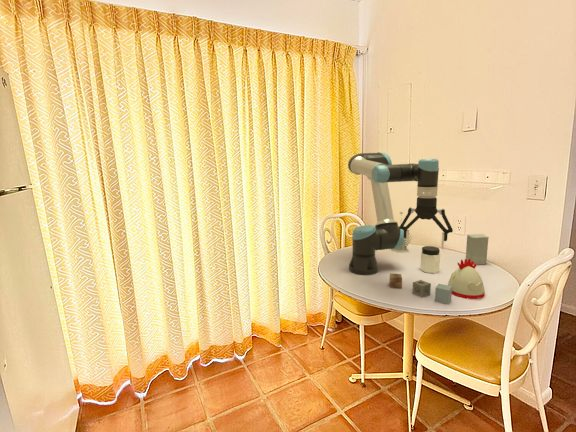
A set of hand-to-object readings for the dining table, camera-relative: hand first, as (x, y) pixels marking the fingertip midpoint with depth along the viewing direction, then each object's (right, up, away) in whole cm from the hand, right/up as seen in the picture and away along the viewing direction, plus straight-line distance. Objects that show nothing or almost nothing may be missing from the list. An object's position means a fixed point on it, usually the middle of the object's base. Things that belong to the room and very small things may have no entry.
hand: (424, 246), depth 127 cm
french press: (+14, -9, +64) cm, 66 cm away
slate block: (+6, -22, -4) cm, 23 cm away
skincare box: (+45, -13, +37) cm, 60 cm away
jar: (+16, -15, +29) cm, 37 cm away
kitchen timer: (+19, -20, +3) cm, 28 cm away
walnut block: (-8, -19, +12) cm, 24 cm away
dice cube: (0, -21, +3) cm, 21 cm away
